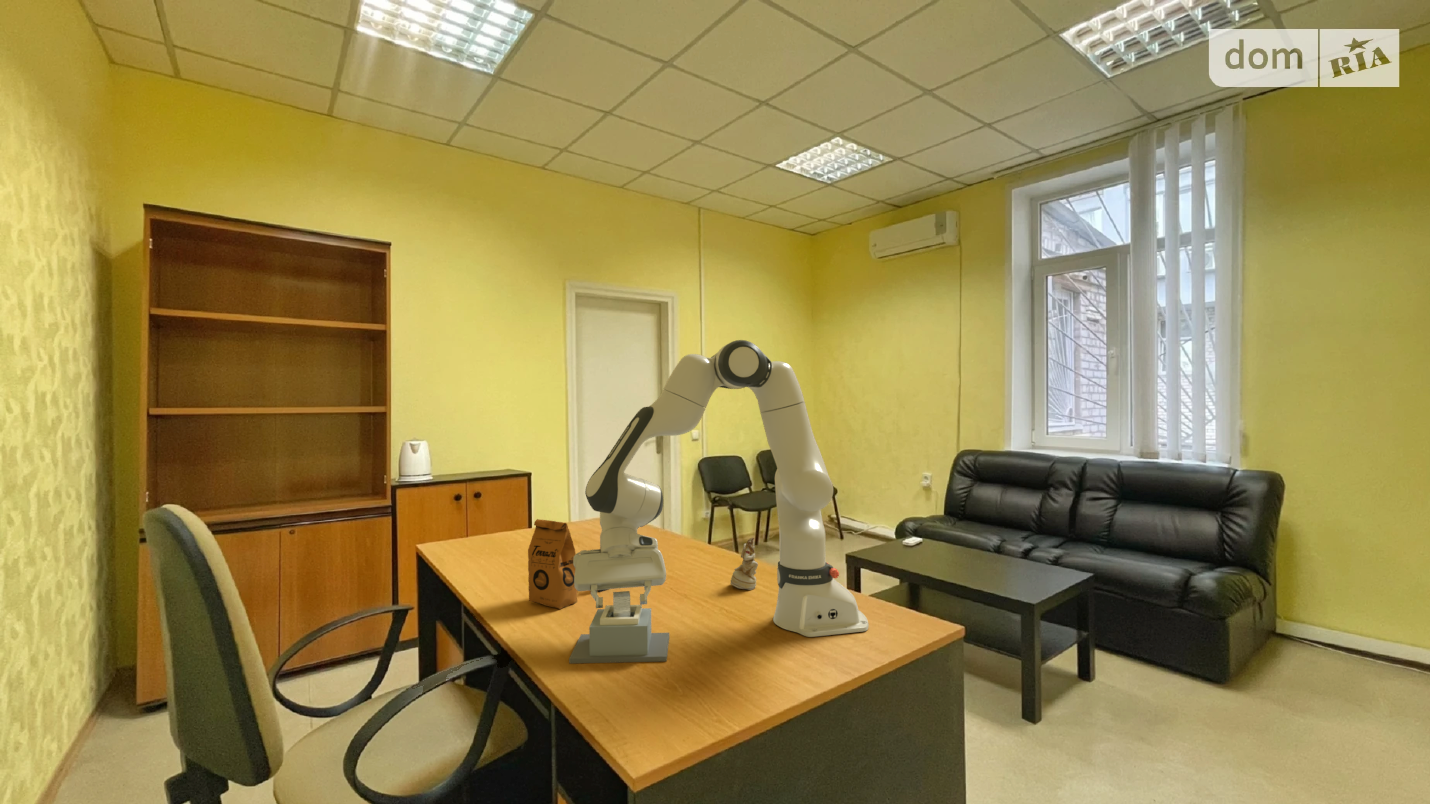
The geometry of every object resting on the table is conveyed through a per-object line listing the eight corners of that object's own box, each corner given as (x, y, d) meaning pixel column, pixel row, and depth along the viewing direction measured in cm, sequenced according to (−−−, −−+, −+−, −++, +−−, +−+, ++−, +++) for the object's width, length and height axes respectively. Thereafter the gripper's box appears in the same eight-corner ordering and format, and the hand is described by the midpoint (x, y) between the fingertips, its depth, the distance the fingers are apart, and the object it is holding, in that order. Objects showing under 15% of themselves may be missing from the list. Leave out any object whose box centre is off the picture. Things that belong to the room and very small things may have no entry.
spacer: (641, 610, 127) (641, 604, 127) (638, 624, 119) (638, 618, 119) (606, 610, 127) (605, 605, 127) (599, 625, 119) (599, 619, 119)
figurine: (758, 595, 162) (773, 545, 162) (736, 592, 159) (751, 541, 159) (746, 584, 168) (761, 536, 168) (725, 581, 165) (740, 532, 165)
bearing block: (669, 636, 129) (669, 606, 129) (666, 661, 117) (666, 627, 117) (581, 638, 129) (580, 607, 129) (569, 663, 117) (568, 629, 117)
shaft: (629, 640, 125) (629, 590, 125) (630, 647, 122) (630, 596, 122) (613, 642, 124) (613, 592, 124) (614, 649, 121) (613, 597, 121)
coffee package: (556, 613, 144) (555, 526, 144) (523, 604, 151) (522, 521, 151) (584, 601, 153) (583, 519, 153) (551, 593, 159) (551, 515, 159)
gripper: (573, 543, 127) (571, 602, 118) (663, 538, 132) (669, 594, 122) (573, 558, 132) (572, 615, 122) (661, 552, 136) (667, 607, 127)
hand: (621, 605), depth 122 cm, fingers open, 8 cm apart
